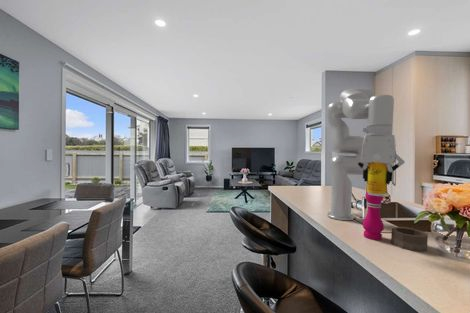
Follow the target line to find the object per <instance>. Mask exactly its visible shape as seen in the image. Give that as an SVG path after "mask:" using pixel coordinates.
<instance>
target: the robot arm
mask: <svg viewBox="0 0 470 313" xmlns="http://www.w3.org/2000/svg"><path fill="white" fill-rule="evenodd" d="M394 104H395V99H394V96H392V95H391V94H378V95H377V94H376V95H375V93H374V90H372V89H371V88H366V87H365V88H357V87H356V88H355V87H354V88H347V89H344V90H343V91H342V92H341V93H340V95H339V101H334V102H331V103H330V104H329V105H327V111H326V114H327V115H326V116H327V121H328V124H329V127H330V130H331V142H332V144H331V145H332V150H333V152H334V153H335V154H339V155H336V156H333V157H332V158H331V159H330V170H331V171H330V172H331V190H330V191H331V194H330V195H331V197H330V212H329V211H328V212H327V217H329V218H331V219H333V220H337V221H353V220H354V219H355V216H354V215H352V198H353V197H352V196H353V183H352V181H351V180H350V178H349V175H354V176H362V179H363V180H364V182H367V174H368V163H372V160H373V155H374V154H379V155H381V163H383V164H386V166H387V168H388V172H387V176H386V183H387V185H389V184H390V183H391V182H393V172H394V171H396V170H397V169H399V168H400V167H401V166H402V165H404V164H406V163H405V160H404V159H403V158H402V157H401V156H399V154H398V153H397V152H396V151H397V148H396V147H397V145H396V138H395V134H393V127H394V126H393V122H394ZM343 119H351V120H367V126H366V127H364V128H363V129H362V132H363V133H366V134H365V135H364V136H361V135H360V136H359V135H358V136H357V135H356V136H355V135H351V134H350V128H349V126H348V124H347V123H346V122H345V121H344V120H343ZM396 161H397V163H395V162H396ZM393 163H395V165H392V164H393Z"/></svg>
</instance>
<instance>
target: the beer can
mask: <svg viewBox="0 0 470 313" xmlns="http://www.w3.org/2000/svg"><path fill="white" fill-rule="evenodd" d="M387 172H388V168H387V166H386V164H383V163H381V155H379V154H374V155H373V160H372V163H368V174H367V181H366V193H368V194H369V195H373V196H383V197H385V196H386V195H387V193H388V192H387V188H388V184H387V183H386V176H387Z"/></svg>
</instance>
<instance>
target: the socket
mask: <svg viewBox="0 0 470 313" xmlns="http://www.w3.org/2000/svg"><path fill="white" fill-rule="evenodd" d="M390 237H391V241H390V243H391V244H392V245H393V246H395V247H399V248H401V249H403V250H408V251H413V252H425V251H428V238H429V234H428V233H427V232H425V231H423V230H418V229H416V228H410V227H404V226H393V227H392V228H391V236H390Z"/></svg>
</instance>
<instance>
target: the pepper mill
mask: <svg viewBox="0 0 470 313" xmlns="http://www.w3.org/2000/svg"><path fill="white" fill-rule="evenodd" d="M364 197H365V200H366V201H367V202H366V207H367V212H366V215H365V217H364V219H363V221H362V228H363V230H364V231H363V237H364V238H365V239H369V240H372V241H373V240H374V241H379V240H380V241H381V240H382V239H383V234H382V232H383V231H384V222H383V220H382V218H381V215H380V213H381V212H380V209H381V208H382V201H384V196H373V195H369V194H368V193H367V192H366V193H365V196H364Z"/></svg>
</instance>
